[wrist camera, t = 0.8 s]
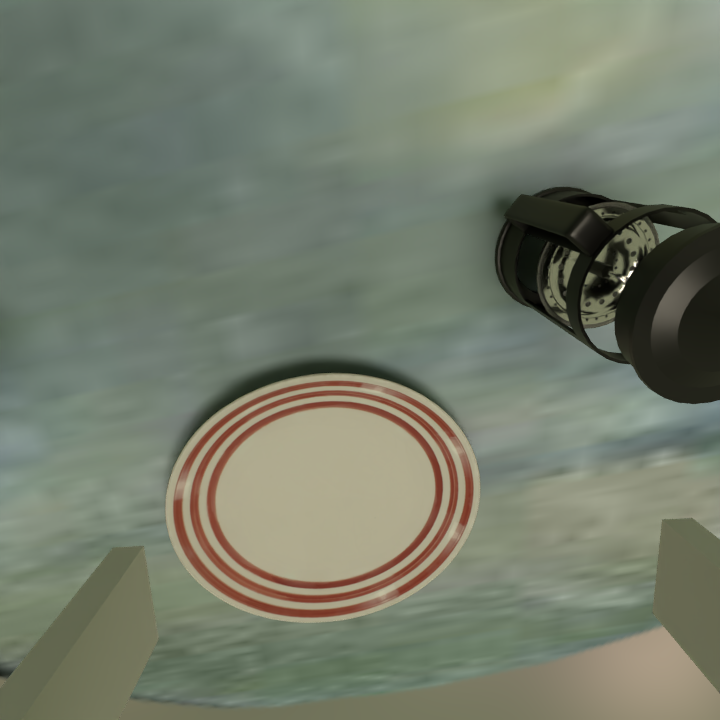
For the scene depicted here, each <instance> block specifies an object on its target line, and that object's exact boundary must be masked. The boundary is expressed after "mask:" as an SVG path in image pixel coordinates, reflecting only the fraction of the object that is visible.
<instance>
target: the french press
mask: <svg viewBox="0 0 720 720" xmlns="http://www.w3.org/2000/svg"><path fill="white" fill-rule="evenodd" d="M504 216H505V218H506V219H507V221H506V223H505V224H504V226H503V229H502V231H501V233H500V235H499V238H498V242H497V246H496V254H495V264H496V271H497V275H498V278H499V280H500V283H501V285H502V286H503V288H504V289H505V291H506V292H507V293H508V294H509V295H510V296H511V297H512V298H513V299H514V300H516V301H517V302H519V303H521V304H522V305H525V306H527V307H530V308H533V309H534V310H535V311H537V312H538V313H540V314H541V315H543V316H544V317H546V318H547V319H549V320H550V321H551V322H553V323H554V324H556V325H557V326H559V327H560V328H562V329H563V330H565V331H566V332H568V333H569V334H570V335H572V336H573V337H575V338H576V339H578V340H579V341H581V342H582V343H584V344H585V345H587V346H588V347H589V348H591V349H592V350H594V351H595V352H597V353H598V354H600V355H602V356H603V357H605V358H606V359H608V360H612V361H615V362H618V363H623V364H631V365H632V366H633V367H634V369H635V371H636V373H637V375H638V377H639V378H640V379H641V380H642V381H643V383H644V384H645V385H646V386H647V387H648V388H649V389H651V390H652V391H654V392H655V393H657V394H659V395H660V396H662V397H664V398H666V399H669V400H672V401H675V402H678V403H690V404H698V403H708V402H713V401H717V400H720V223H717V222H716V221H715V220H714V219H712V218H711V217H710V216H709V215H707V214H705V213H703V212H700V211H698V210H696V209H691V208H685V207H679V206H672V205H665V204H659V205H642V204H636V203H629V202H623V201H617V200H611V199H609V198H606V197H604V196H602V195H596V194H591V193H589V192H586V191H584V190H582V189H578V188H571V187H555V188H551V189H548V190H544V191H542V192H540V193H538V194H536V195H533V196H529V195H524V194H521V195H520V196H519V197H518V198H517V199H516V201H515V202H514V203H513V204H512V206H511V207H510V208H509V209H508V211H507V212H506V213H505V215H504ZM653 223H657V224H662V225H667V226H672V227H677V228H682V229H685V230H683V231H680V232H678V233H676V234H674V235H672V236H670V237H669V238H667V239H666V240H665V241H663V242H662V243H659V238H658V234H657V231H656V229H655V227H654V225H653ZM526 234H528V235H531V236H534V237H536V238H539V239H542V240H545V241H546V242H545V244H544V246H543V249H542V251H541V253H540V257H539V261H538V265H537V274H536V280H537V289H538V292H539V293H536V292H533V291H531V290H529V289H528V288H526V287H525V286H524V285H523V284H522V283H521V281H520V279H519V278H518V275H517V261H518V255H519V251H520V248H521V245H522V242H523V240H524V238H525V236H526ZM613 321H615V336H616V340H617V344H618V347H619V349H620V351H621V352H622V353H613V352H607V351H604V350H601V349H598V348H597V347H596V346H595V345H594V344H593V343H592V342H591V341H590V339H589V337H588V335H587V334H586V332H585V330H584V329H586V328H596V327H600V326H603V325H607V324H609V323H611V322H613ZM568 326H570V327H572V329H571V328H570V327H568Z"/></svg>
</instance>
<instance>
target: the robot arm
mask: <svg viewBox="0 0 720 720" xmlns="http://www.w3.org/2000/svg"><path fill="white" fill-rule="evenodd" d="M652 613H653V614H654V615H655V616H656V618H657V619H658V620H659V621H660V622H661V624H662V625H663V626H664V627H665V628H666V630H667V631H668V632H669V633H670V634H671V636H672V637H673V638H674V639H675V640H676V641H677V643H678V644H679V645H680V646H681V648H682V649H683V650H684V651H685V652H686V654H687V655H688V656H689V657H690V658H691V660H692V661H693V662H694V663H695V664H696V666H697V667H698V668H699V669H700V670H701V672H702V673H703V674H704V675H705V676H706V677H707V679H708V680H709V681H710V682H711V684H713V686H714V687H715V688H716V689H717V691H718V692H719V693H720V539H718V538H717V537H716V536H714V535H713V534H712V533H711V532H709V531H708V530H707V529H705V528H704V527H703V526H702V525H700V524H699V523H698V522H697V521H695V520H694V519H693V518H684V519H664V520H662V526H661V536H660V545H659V555H658V565H657V574H656V584H655V593H654V603H653V612H652ZM158 639H159V637H158V631H157V625H156V619H155V613H154V607H153V600H152V594H151V588H150V582H149V576H148V570H147V563H146V557H145V551H144V546H133V547H114V548H112V550H111V551H110V552H109V553H108V555H107V556H106V557H105V558H104V560H103V561H102V562H101V563H100V565H99V566H98V567H97V568H96V570H95V571H94V572H93V573H92V574H91V576H90V577H89V578H88V579H87V581H86V582H85V583H84V584H83V586H82V587H81V588H80V589H79V591H78V592H77V593H76V594H75V596H74V597H73V598H72V599H71V601H70V602H69V603H68V604H67V606H66V607H65V608H64V609H63V611H62V612H61V613H60V614H59V616H58V617H57V618H56V619H55V621H54V622H53V623H52V624H51V626H50V627H49V628H48V629H47V631H46V632H45V633H44V634H43V636H42V637H41V638H40V639H39V641H38V642H37V643H36V644H35V646H34V647H33V648H32V649H31V651H30V652H29V653H28V654H27V656H26V657H25V658H24V659H23V661H22V662H21V663H20V664H19V665H18V667H17V668H16V669H15V670H14V672H13V673H12V674H11V675H10V677H9V678H8V679H7V680H6V682H5V683H4V684H3V685H2V687H1V688H0V720H119V718H120V716H121V714H122V712H123V710H124V708H125V706H126V704H127V702H128V700H129V698H130V696H131V694H132V692H133V690H134V688H135V686H136V684H137V682H138V680H139V678H140V676H141V673H142V671H143V669H144V667H145V665H146V663H147V661H148V659H149V657H150V655H151V653H152V651H153V649H154V647H155V645H156V643H157V641H158Z"/></svg>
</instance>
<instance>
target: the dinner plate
mask: <svg viewBox="0 0 720 720" xmlns="http://www.w3.org/2000/svg"><path fill="white" fill-rule="evenodd" d="M479 501H480V475H479V469H478V465H477V461H476V458H475V455H474V452H473V450H472V447H471V445H470V443H469V441H468V440H467V438H466V436H465V434H464V433H463V431H462V430H461V429H460V427H459V426H458V425H457V424H456V422H455V421H454V420H453V419H452V418H451V417H450V416H449V415H448V414H447V413H446V412H445V411H444V410H443V409H442V408H441V407H439V406H438V405H437V404H435V403H434V402H432V401H431V400H429V399H428V398H426V397H425V396H423V395H422V394H420V393H418V392H416V391H414V390H412V389H410V388H408V387H406V386H403V385H401V384H398V383H395V382H393V381H389V380H386V379H382V378H377V377H372V376H367V375H361V374H351V373H320V374H312V375H305V376H299V377H294V378H289V379H285V380H282V381H278V382H275V383H272V384H269V385H266V386H263V387H261V388H259V389H256V390H254V391H252V392H250V393H248V394H246V395H244V396H242V397H240V398H238V399H236V400H235V401H233V402H231V403H230V404H228V405H227V406H225V407H223V408H222V409H221V410H219V411H218V412H217V413H215V414H214V415H213V416H212V417H210V418H209V419H208V420H207V421H206V422H205V423H204V424H203V425H202V426H201V427H200V428H199V429H198V430H197V431H196V432H195V433H194V435H193V436H192V437H191V438H190V440H189V441H188V442H187V444H186V445H185V447H184V448H183V450H182V452H181V453H180V455H179V457H178V459H177V461H176V463H175V465H174V467H173V470H172V473H171V476H170V478H169V483H168V487H167V493H166V502H165V515H166V524H167V529H168V533H169V537H170V540H171V543H172V545H173V547H174V550H175V552H176V554H177V556H178V558H179V559H180V561H181V562H182V564H183V565H184V567H185V568H186V569H187V571H188V572H189V573H190V574H191V575H192V577H193V578H194V579H195V580H196V581H197V582H198V583H199V584H200V585H202V586H203V587H204V588H205V589H206V590H208V591H209V592H211V593H212V594H213V595H215V596H216V597H218V598H219V599H221V600H223V601H224V602H226V603H228V604H230V605H232V606H234V607H236V608H238V609H241V610H243V611H246V612H249V613H252V614H255V615H258V616H262V617H265V618H270V619H275V620H281V621H289V622H303V623H311V622H330V621H339V620H345V619H350V618H355V617H359V616H363V615H367V614H370V613H373V612H376V611H379V610H382V609H384V608H387V607H389V606H391V605H394V604H396V603H398V602H400V601H402V600H404V599H405V598H407V597H409V596H411V595H412V594H414V593H416V592H417V591H419V590H420V589H422V588H423V587H424V586H426V585H427V584H428V583H430V582H431V581H432V580H433V579H434V578H435V577H437V576H438V575H439V574H440V573H441V572H442V571H443V570H444V569H445V568H446V567H447V566H448V565H449V564H450V562H451V561H452V560H453V559H454V558H455V556H456V555H457V554H458V552H459V551H460V549H461V548H462V546H463V545H464V543H465V542H466V540H467V538H468V536H469V534H470V532H471V530H472V527H473V524H474V522H475V519H476V515H477V512H478V507H479Z"/></svg>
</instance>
